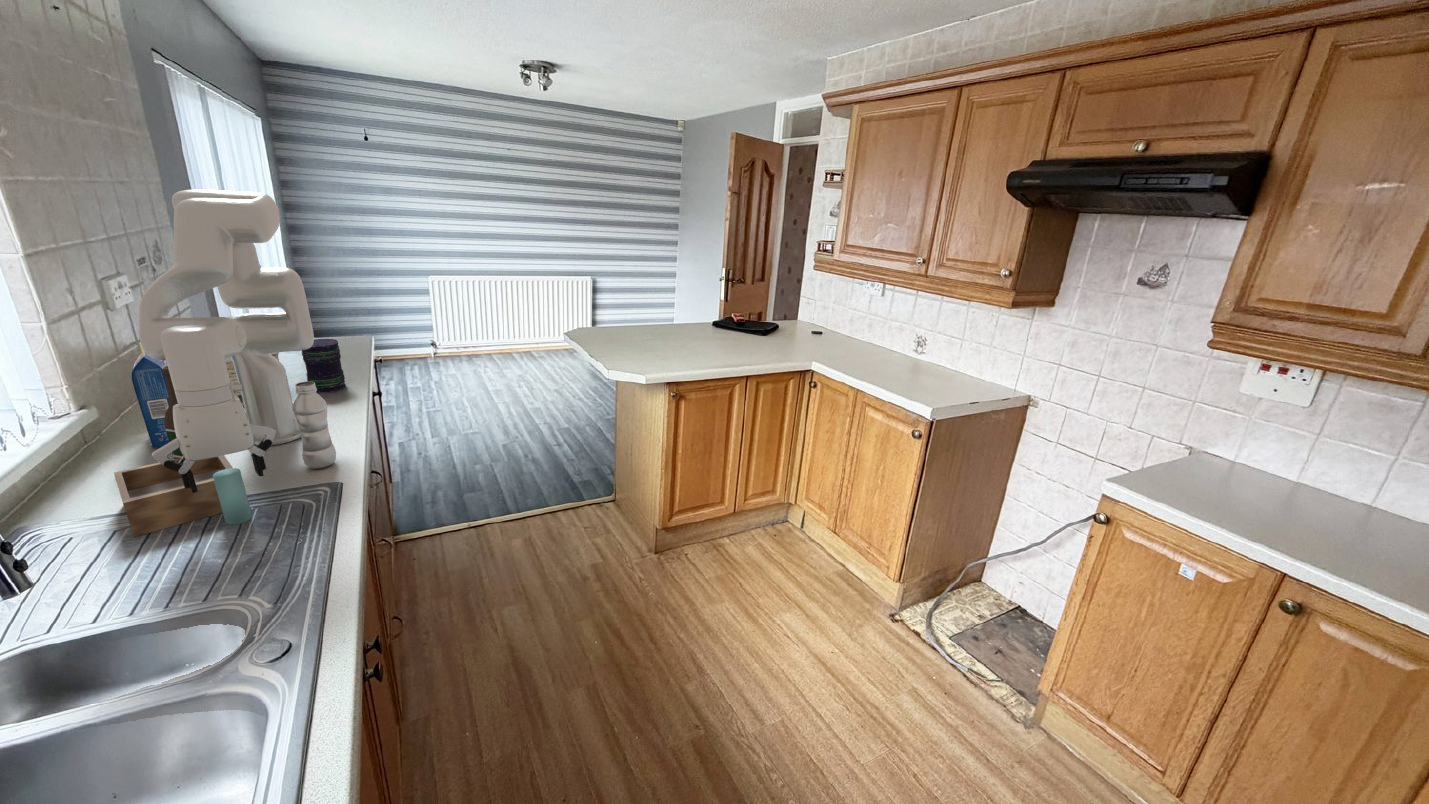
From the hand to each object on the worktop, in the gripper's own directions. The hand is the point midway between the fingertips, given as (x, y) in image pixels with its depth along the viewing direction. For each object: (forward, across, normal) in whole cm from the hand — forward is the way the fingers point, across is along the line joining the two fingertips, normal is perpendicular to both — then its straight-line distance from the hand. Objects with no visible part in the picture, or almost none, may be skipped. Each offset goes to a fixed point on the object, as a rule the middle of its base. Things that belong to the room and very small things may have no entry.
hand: (227, 481), depth 105 cm
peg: (+8, 0, -1) cm, 8 cm away
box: (+8, +6, -14) cm, 17 cm away
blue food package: (+7, +3, -56) cm, 56 cm away
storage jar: (+7, -36, -74) cm, 82 cm away
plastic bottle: (+8, -18, -16) cm, 25 cm away
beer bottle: (+8, +1, -31) cm, 32 cm away
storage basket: (+6, -20, -92) cm, 94 cm away
